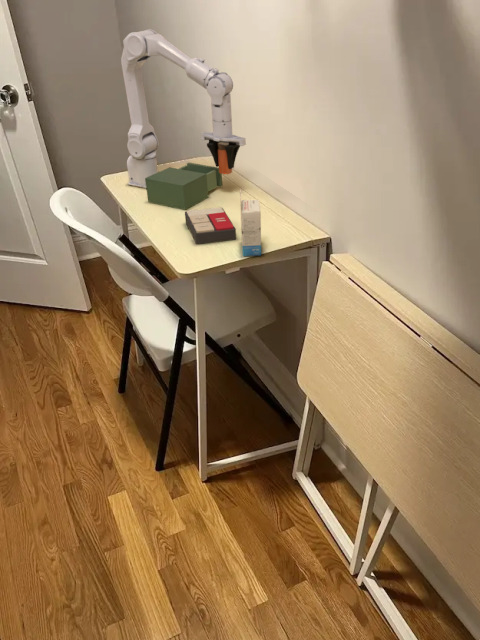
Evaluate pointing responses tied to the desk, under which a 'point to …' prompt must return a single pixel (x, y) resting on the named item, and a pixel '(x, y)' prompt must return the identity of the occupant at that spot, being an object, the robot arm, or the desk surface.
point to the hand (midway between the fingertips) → (224, 167)
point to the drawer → (212, 174)
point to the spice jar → (223, 158)
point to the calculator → (210, 225)
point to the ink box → (250, 227)
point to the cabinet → (177, 188)
